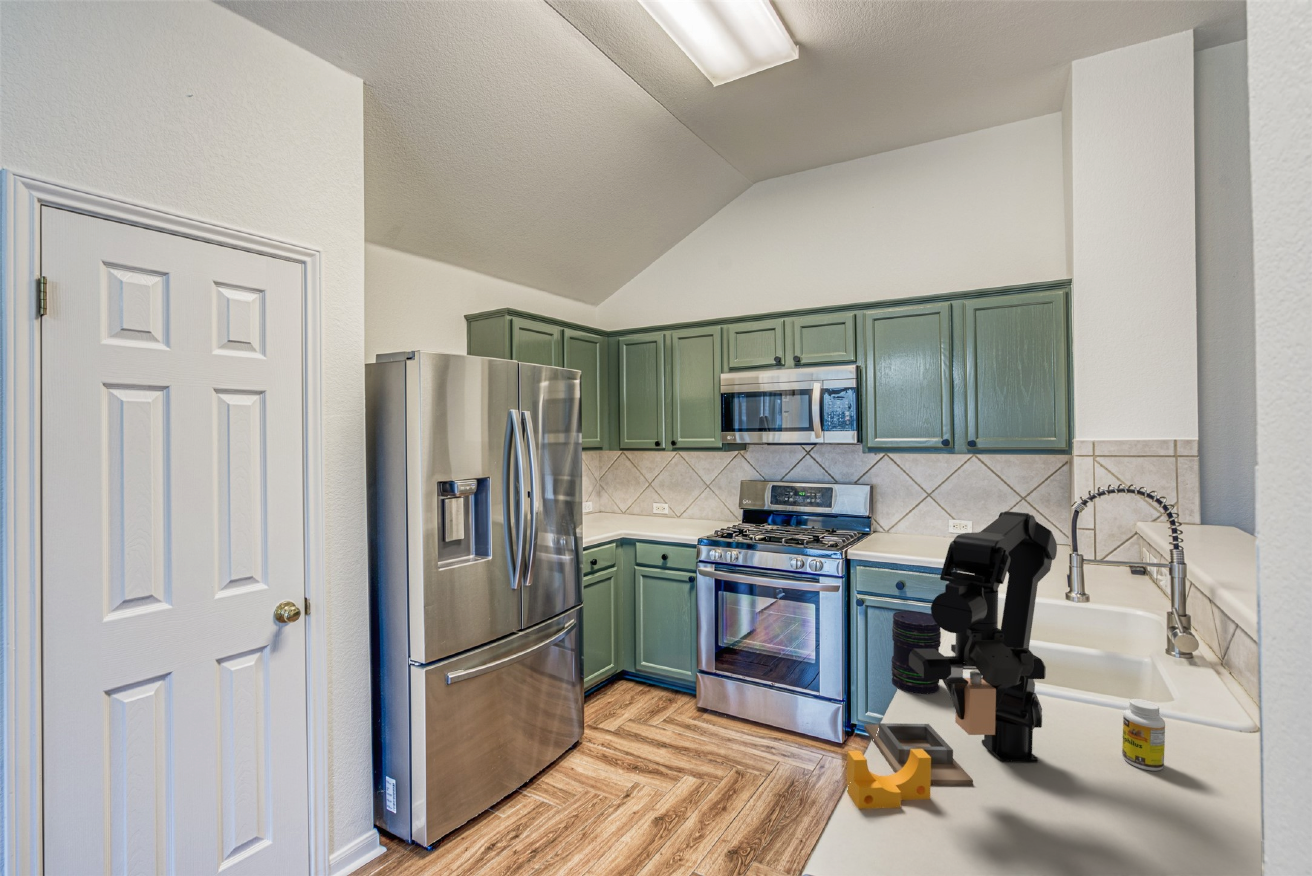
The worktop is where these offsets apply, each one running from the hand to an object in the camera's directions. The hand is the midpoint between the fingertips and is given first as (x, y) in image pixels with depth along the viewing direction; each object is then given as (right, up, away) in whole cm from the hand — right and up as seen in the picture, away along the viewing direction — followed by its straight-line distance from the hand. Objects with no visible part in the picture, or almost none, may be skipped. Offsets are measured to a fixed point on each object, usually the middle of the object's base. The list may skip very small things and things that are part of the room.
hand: (974, 718), depth 96 cm
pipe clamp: (-14, -12, -2) cm, 18 cm away
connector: (0, -2, 0) cm, 2 cm away
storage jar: (+8, -11, +40) cm, 42 cm away
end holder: (-5, -11, +11) cm, 16 cm away
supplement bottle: (+33, -12, +9) cm, 36 cm away
